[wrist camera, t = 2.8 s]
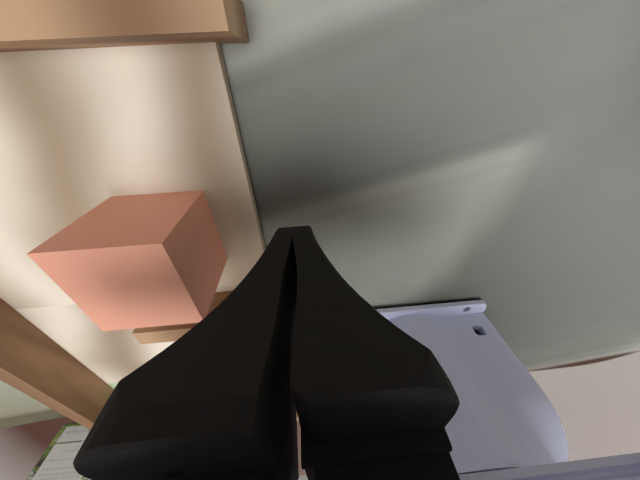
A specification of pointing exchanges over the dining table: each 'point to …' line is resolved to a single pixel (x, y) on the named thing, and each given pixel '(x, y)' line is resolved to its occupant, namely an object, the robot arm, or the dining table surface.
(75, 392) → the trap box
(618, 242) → the dining table surface
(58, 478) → the syrup box
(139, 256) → the coral block
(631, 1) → the dining table surface
